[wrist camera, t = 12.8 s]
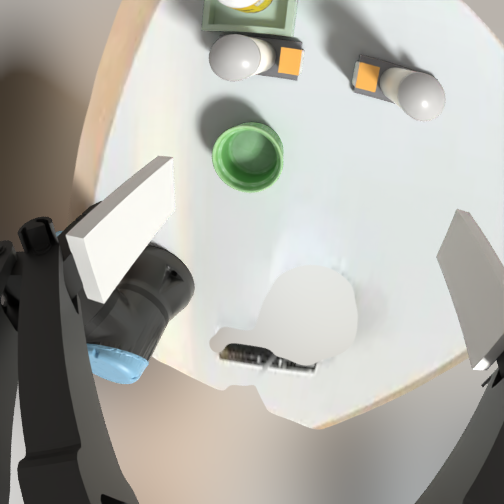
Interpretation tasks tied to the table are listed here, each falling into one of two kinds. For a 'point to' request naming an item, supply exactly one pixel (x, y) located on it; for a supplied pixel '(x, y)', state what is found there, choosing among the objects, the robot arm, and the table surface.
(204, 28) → the tray
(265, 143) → the ramekin
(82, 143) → the table surface
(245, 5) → the supplement bottle
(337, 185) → the table surface
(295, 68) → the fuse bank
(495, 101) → the table surface
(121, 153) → the table surface
